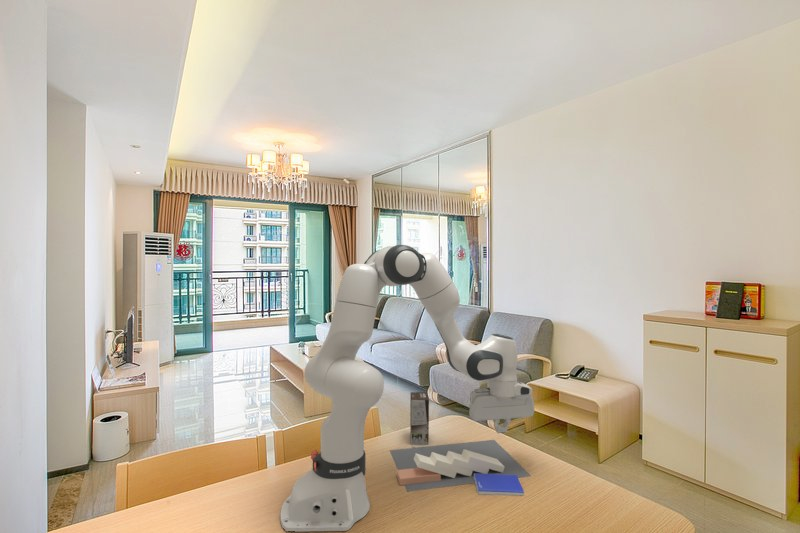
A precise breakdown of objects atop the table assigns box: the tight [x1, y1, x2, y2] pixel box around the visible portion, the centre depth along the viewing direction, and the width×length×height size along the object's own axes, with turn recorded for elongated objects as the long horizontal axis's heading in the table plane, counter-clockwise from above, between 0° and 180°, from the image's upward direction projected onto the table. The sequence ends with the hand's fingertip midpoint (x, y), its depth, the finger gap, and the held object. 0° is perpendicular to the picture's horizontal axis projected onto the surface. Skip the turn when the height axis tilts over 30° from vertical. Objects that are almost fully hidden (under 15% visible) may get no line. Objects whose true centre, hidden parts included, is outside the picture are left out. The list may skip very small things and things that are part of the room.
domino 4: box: [462, 449, 505, 473], centre depth 123 cm, size 2×5×12 cm
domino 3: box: [446, 451, 489, 474], centre depth 121 cm, size 2×5×12 cm
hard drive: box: [474, 473, 525, 496], centre depth 114 cm, size 2×8×12 cm
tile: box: [396, 468, 441, 486], centre depth 118 cm, size 2×5×12 cm
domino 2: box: [430, 452, 473, 477], centre depth 120 cm, size 2×5×12 cm
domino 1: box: [414, 453, 457, 478], centre depth 119 cm, size 2×5×12 cm
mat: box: [389, 439, 532, 492], centre depth 128 cm, size 38×25×1 cm, turn 103°
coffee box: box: [409, 391, 430, 446], centre depth 144 cm, size 9×6×16 cm
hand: (501, 432), depth 124 cm, fingers closed
